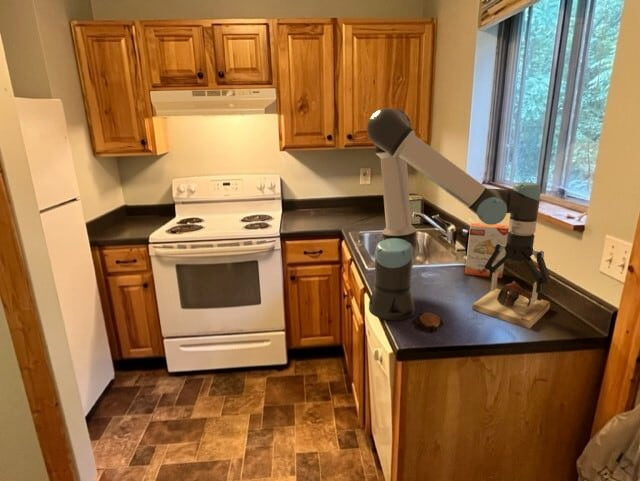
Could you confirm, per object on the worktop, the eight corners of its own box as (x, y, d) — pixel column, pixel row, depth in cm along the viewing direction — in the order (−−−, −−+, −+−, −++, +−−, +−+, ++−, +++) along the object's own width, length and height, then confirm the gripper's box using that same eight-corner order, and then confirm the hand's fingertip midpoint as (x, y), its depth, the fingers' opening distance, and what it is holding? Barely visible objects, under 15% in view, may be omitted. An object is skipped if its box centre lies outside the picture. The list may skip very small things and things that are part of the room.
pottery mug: (496, 295, 137) (511, 277, 134) (521, 313, 133) (537, 294, 130) (491, 300, 126) (507, 280, 124) (518, 319, 122) (535, 299, 120)
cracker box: (465, 275, 160) (469, 225, 154) (465, 269, 165) (469, 221, 159) (502, 279, 155) (509, 228, 149) (501, 273, 160) (507, 224, 154)
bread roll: (419, 315, 129) (420, 305, 127) (445, 321, 124) (446, 311, 123) (408, 329, 120) (409, 318, 119) (436, 336, 116) (436, 325, 115)
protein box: (417, 218, 253) (418, 194, 249) (422, 224, 239) (424, 199, 234) (401, 218, 254) (402, 194, 249) (405, 224, 239) (406, 199, 234)
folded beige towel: (472, 309, 131) (472, 302, 130) (494, 293, 142) (495, 286, 142) (529, 328, 118) (530, 320, 117) (549, 308, 130) (550, 301, 129)
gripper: (478, 228, 128) (471, 288, 135) (561, 242, 112) (549, 311, 118) (487, 223, 133) (481, 282, 140) (569, 237, 117) (557, 303, 123)
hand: (512, 295), depth 129 cm, fingers open, 12 cm apart
